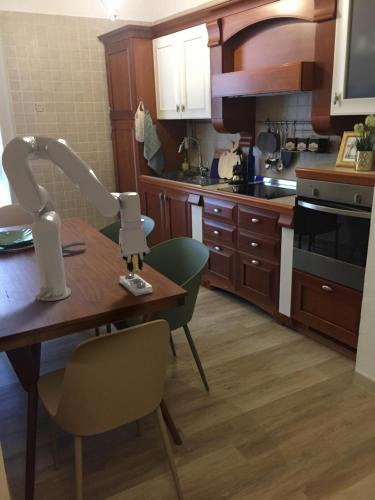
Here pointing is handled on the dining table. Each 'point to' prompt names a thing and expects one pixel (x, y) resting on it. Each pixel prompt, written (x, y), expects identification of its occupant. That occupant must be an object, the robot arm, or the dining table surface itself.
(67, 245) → the pliers
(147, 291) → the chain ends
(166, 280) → the dining table surface
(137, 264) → the pin
